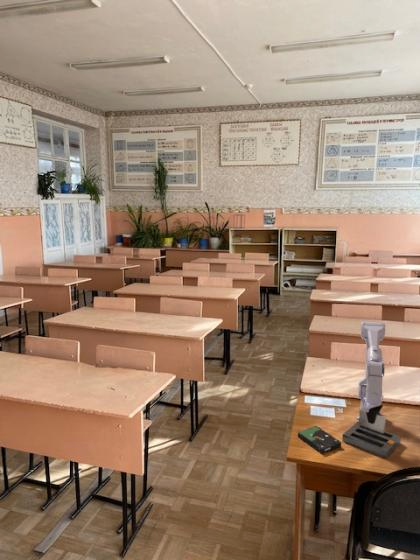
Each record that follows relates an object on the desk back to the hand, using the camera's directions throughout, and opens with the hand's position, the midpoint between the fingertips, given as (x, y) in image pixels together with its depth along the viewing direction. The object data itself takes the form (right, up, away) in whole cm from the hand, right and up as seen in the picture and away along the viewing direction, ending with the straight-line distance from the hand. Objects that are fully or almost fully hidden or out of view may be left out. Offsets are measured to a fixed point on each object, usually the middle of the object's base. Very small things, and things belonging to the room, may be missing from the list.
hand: (372, 422), depth 172 cm
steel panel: (0, -3, +1) cm, 3 cm away
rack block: (0, -9, +2) cm, 9 cm away
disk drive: (-21, -10, +3) cm, 23 cm away
